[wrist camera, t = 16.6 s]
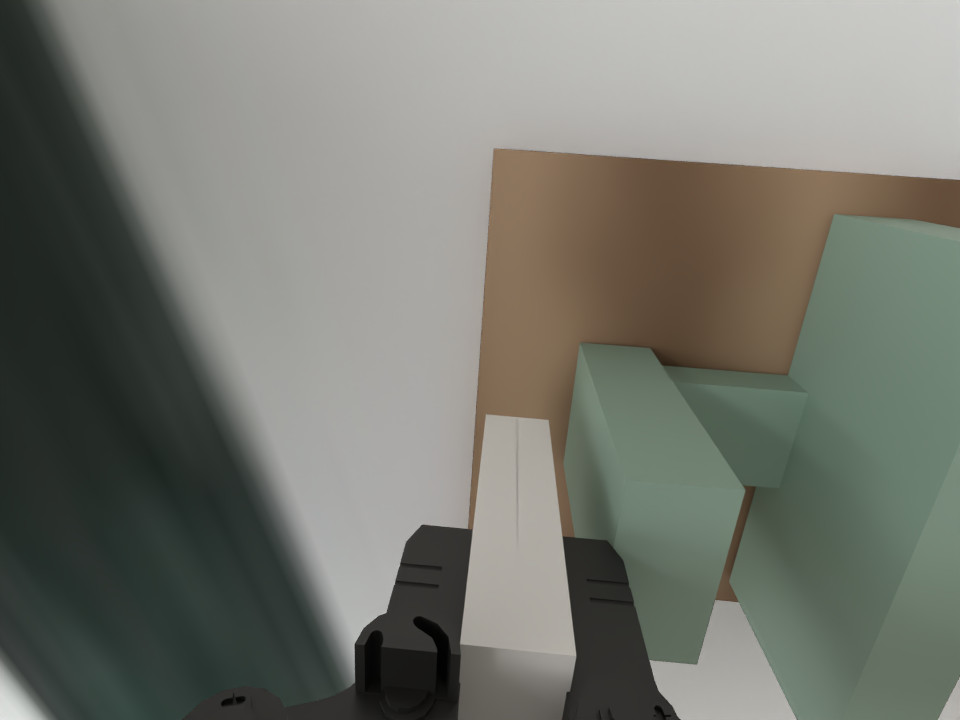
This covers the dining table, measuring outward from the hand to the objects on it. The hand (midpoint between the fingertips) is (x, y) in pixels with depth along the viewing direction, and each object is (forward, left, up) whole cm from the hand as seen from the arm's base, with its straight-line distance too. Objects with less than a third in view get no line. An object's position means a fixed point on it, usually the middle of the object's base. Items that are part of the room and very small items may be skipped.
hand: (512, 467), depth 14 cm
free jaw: (+6, 0, -3) cm, 7 cm away
